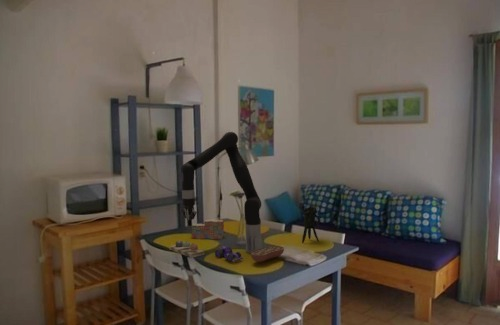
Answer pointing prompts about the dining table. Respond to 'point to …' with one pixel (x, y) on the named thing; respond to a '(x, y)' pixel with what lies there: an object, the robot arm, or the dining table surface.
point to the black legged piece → (309, 221)
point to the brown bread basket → (267, 253)
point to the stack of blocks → (208, 230)
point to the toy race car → (227, 253)
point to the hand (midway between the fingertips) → (189, 225)
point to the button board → (187, 251)
